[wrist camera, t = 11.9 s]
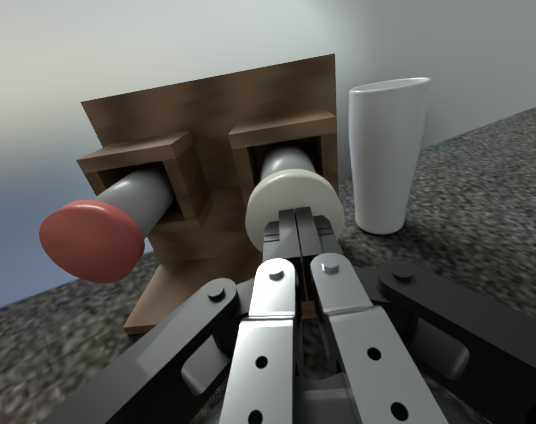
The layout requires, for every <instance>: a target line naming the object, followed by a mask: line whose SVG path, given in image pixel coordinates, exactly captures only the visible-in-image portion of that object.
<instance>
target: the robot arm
mask: <svg viewBox="0 0 536 424" xmlns="http://www.w3.org/2000/svg"><path fill="white" fill-rule="evenodd" d="M295 214H296V221H297V229H298V236H297V229H296V222H295V215H294V209H286V210H279V221H273V222H269V223H268V224H267V226H266V227H265V228H264V245H263V262H262V265H261V266H260V267H259V268H258V270H257V274H256V276H255V277H254V278H252V279H250V280H248V281H246V282H243V283H241V284H238V285H235V283H234V282H233V281H232V280H230V279H226V278H219V279H215V280H212V281H210V282H208V283H207V284H205V285H204V286H203V287H201V288H200V289H199V290H198V291H197V292H196V293H194V294H193V295H192V296H191V297H190V298H188V299H187V300H186V301H185V302H184V303H182V304H181V305H180V306H179V307H178V308H176V309H175V310H174V311H173V312H172V313H170V314H169V315H168V316H167V317H166V318H164V319H163V320H162V321H161V322H160V323H158V324H157V325H156V326H155V327H154V328H153V329H151V330H150V331H149V332H148V333H147V334H145V335H144V336H143V337H142V338H141V339H139V340H138V341H137V342H136V343H135V344H133V345H132V346H131V347H130V348H129V349H127V350H126V351H125V352H124V353H123V354H121V355H120V356H119V357H118V358H117V359H115V360H114V361H113V362H112V363H111V364H110V365H108V366H107V367H106V368H105V369H104V370H102V371H101V372H100V373H99V374H98V375H96V376H95V377H94V378H93V379H92V380H90V381H89V382H88V383H87V384H86V385H84V386H83V387H82V388H81V389H80V390H78V391H77V392H76V393H75V394H74V395H72V396H71V397H70V398H69V399H68V400H67V401H65V402H64V403H63V404H62V405H61V406H59V407H58V408H57V409H56V410H55V411H53V412H52V413H51V414H50V415H49V416H47V417H46V418H45V419H44V420H43V421H41V422H40V423H39V424H189V423H190V421H191V420H192V419H193V418H194V416H195V415H196V414H197V413H198V412H199V410H200V409H201V408H202V407H203V405H204V404H205V403H206V402H207V401H208V399H209V398H210V397H211V396H212V394H213V393H214V392H215V391H216V390H217V388H218V387H219V386H220V385H221V383H222V382H223V381H224V380H225V378H226V377H227V376H228V375H229V374H230V375H229V379H228V384H227V389H226V393H225V398H224V399H223V400H222V401H221V402H220V403H219V404H217V405H216V406H215V407H214V408H213V409H212V411H211V412H210V413H209V414H208V415H207V416H206V418H205V419H204V420H203V422H202V423H201V424H478V423H477V422H475V421H474V420H473V419H472V418H470V417H469V416H468V415H467V414H465V413H464V412H463V411H462V410H460V409H459V408H458V407H457V406H455V405H454V404H453V403H452V402H450V401H449V400H447V399H446V398H444V397H443V396H441V395H440V394H438V393H437V392H435V391H433V390H431V389H430V388H428V386H427V385H426V383H425V381H424V379H423V377H422V376H421V374H420V372H419V370H418V369H417V367H418V368H419V369H420V370H422V371H423V372H424V373H426V374H427V375H428V376H430V377H431V378H432V379H434V380H435V381H436V382H438V383H439V384H440V385H442V386H443V387H445V388H446V389H447V390H449V391H450V392H451V393H453V394H454V395H455V396H457V397H458V398H459V399H461V400H462V401H463V402H465V403H466V404H467V405H469V406H470V407H471V408H473V409H474V410H475V411H477V412H478V413H479V414H481V415H482V416H483V417H485V418H486V419H487V420H489V421H490V422H492V423H493V424H536V319H535V318H533V317H530V316H528V315H526V314H524V313H522V312H519V311H517V310H515V309H513V308H510V307H508V306H506V305H504V304H502V303H499V302H497V301H495V300H493V299H490V298H488V297H486V296H484V295H481V294H479V293H477V292H475V291H473V290H470V289H468V288H466V287H464V286H461V285H459V284H457V283H455V282H453V281H450V280H448V279H446V278H444V277H441V276H439V275H437V274H435V273H433V272H430V271H428V270H426V269H424V268H421V267H419V266H417V265H415V264H412V263H410V262H407V261H402V260H390V261H386V262H384V263H382V264H381V265H380V266H379V268H378V270H372V269H365V268H360V267H357V266H354V265H352V264H351V263H350V262H349V260H348V259H347V258H346V257H344V256H343V255H342V252H341V249H340V247H339V244H338V241H337V239H336V236H335V234H334V231H333V228H332V226H331V223H330V221H329V220H328V219H327V218H326V217H325V216H323V215H318V216H313V215H312V211H311V208H310V206H308V207H301V208H295ZM298 237H299V242H298ZM299 245H300V249H299ZM300 251H301V256H300ZM301 258H302V263H301ZM302 264H303V271H304V277H305V284H306V290H307V297H308V301H314V307H315V315H316V321H317V325H318V329H319V332H320V336H321V340H322V344H323V348H324V352H325V355H326V359H327V363H328V367H329V372H330V377H328V378H325V379H323V380H314V379H309V378H304V362H303V330H302V313H303V311H302V302H305V301H306V295H305V287H304V279H303V271H302ZM422 319H423V320H422ZM424 320H425V321H424ZM427 322H428V323H427ZM429 323H430V324H429ZM434 326H435V327H434ZM436 327H437V328H436ZM439 329H440V330H439ZM441 330H442V331H441ZM444 332H445V333H444ZM446 333H447V334H446ZM449 335H450V336H449ZM451 336H452V337H451ZM454 338H455V339H454ZM456 339H457V340H456Z"/></svg>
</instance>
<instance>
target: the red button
mask: <svg viewBox="0 0 536 424" xmlns="http://www.w3.org/2000/svg"><path fill="white" fill-rule="evenodd" d="M175 199H176V195H175V192H174V190H173V187H172V185H171V182H170V179H169V177H168V174H167V172H166V169H165V166H164V164H163V161H157V162H151V163H145V164H142V165H141V166H140V167H138V168H137V169H135V170H134V171H132V172H131V173H129V174H128V175H127V176H125V177H124V178H122V179H121V180H119V181H118V182H117V183H115V184H114V185H112V186H111V187H109V188H108V189H107V190H105V191H104V192H102V193H101V194H99V195H98V196H97V197H95V198H94V199H92V200H77V201H74V202H71V203H69V204H67V205H66V206H64V207H62V208H61V209H59V210H58V211H56V212H55V213H53V214H52V215H50V216H48V217H47V218H46V219H45V220H44V221H43V223H42V224H41V227H40V232H39V237H40V241H41V244H42V247H43V248H44V250H45V252H46V253H47V255H48V256H49V257H50V258H51V259H52V261H54V263H56V264H57V265H58V266H59V267H60V268H62V269H63V270H65V271H66V272H68V273H70V274H72V275H74V276H76V277H78V278H81V279H84V280H87V281H92V282H99V283H110V282H115V281H119V280H121V279H123V278H125V277H126V276H127V275H128V274H129V273H130V272H131V271H132V269H133V268H134V267H135V265H136V264H137V262H138V261H139V260H140V258H141V257H142V255H143V253H144V248H145V243H144V239H145V238H146V236H147V235H148V234H149V233H150V231H151V230H152V229H153V227H154V226H155V225H156V224H157V222H158V221H159V220H160V218H161V217H162V216H163V215H164V213H165V212H166V211H167V209H168V208H169V207H170V205H171V204H172V203H173V202H174V200H175Z"/></svg>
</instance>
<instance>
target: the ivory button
mask: <svg viewBox="0 0 536 424" xmlns="http://www.w3.org/2000/svg"><path fill="white" fill-rule="evenodd" d="M308 206H310V208H311V211H312V215H313V216H318V215H323V216H325V217H326V218H327V219H328V220H329V221H330V223H331V226H332V228H333V231H334V234H335V236H336V239H337V240H338V239H339V237H340V235H341V233H342V230H343V226H344V210H343V207H342V204H341V202H340V200H339V198H338V196H337V194H336V192H335V190H334V189H333V187H332V186H331V185H330V184H329V182H328V181H327V180H325V179H324V178H323V177H321V176H320V175H318V174H316V172H315V169H314V167H313V165H312V162H311V160H310V158H309V155H308V153H307V151H306V149H305V147H304V146H303V145H302V144H301V143H300V142H299V141H297V140H295V139H294V140H288V141H282V142H276V143H271V144H270V145H269V146H268V147H267V148H266V150H265V152H264V156H263V163H262V171H261V180H260V183H259V184H258V185H257V186H256V187H255V189H254V190H253V192H252V194H251V196H250V199H249V202H248V207H247V212H246V218H245V226H246V231H247V234H248V237H249V239H250V240H251V242H252V243H253V245H254V246H255V247H256V248H257V249H258V250H259V251H260V252H262V253H263V245H264V228H265V227H266V226H267V224H268V223H269V222H273V221H279V210H286V209H294V215H295V222H296V229H297V221H296V214H295V208H301V207H308ZM297 236H298V229H297ZM298 242H299V237H298ZM299 249H300V245H299ZM300 256H301V251H300ZM301 261H302V258H301Z"/></svg>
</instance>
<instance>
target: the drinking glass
mask: <svg viewBox="0 0 536 424" xmlns="http://www.w3.org/2000/svg"><path fill="white" fill-rule="evenodd" d="M431 82H432V81H431V79H430V78H408V79H399V80H391V81H384V82H378V83H372V84H367V85H363V86H358V87H355V88H353V89H351V90H350V92H349V93H350V94H349V143H350V155H351V166H352V177H353V189H354V201H355V221H356V224H357V225H358V226H359V227H360V228H361V229H362V230H364V231H366V232H369V233H373V234H390V233H394V232H396V231H398V230H400V229H401V228H402V226H403V225H404V222H405V215H406V208H407V204H408V200H409V195H410V191H411V187H412V183H413V179H414V175H415V170H416V166H417V162H418V158H419V154H420V150H421V146H422V142H423V138H424V133H425V128H426V123H427V117H428V110H429V102H430V91H431Z"/></svg>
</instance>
